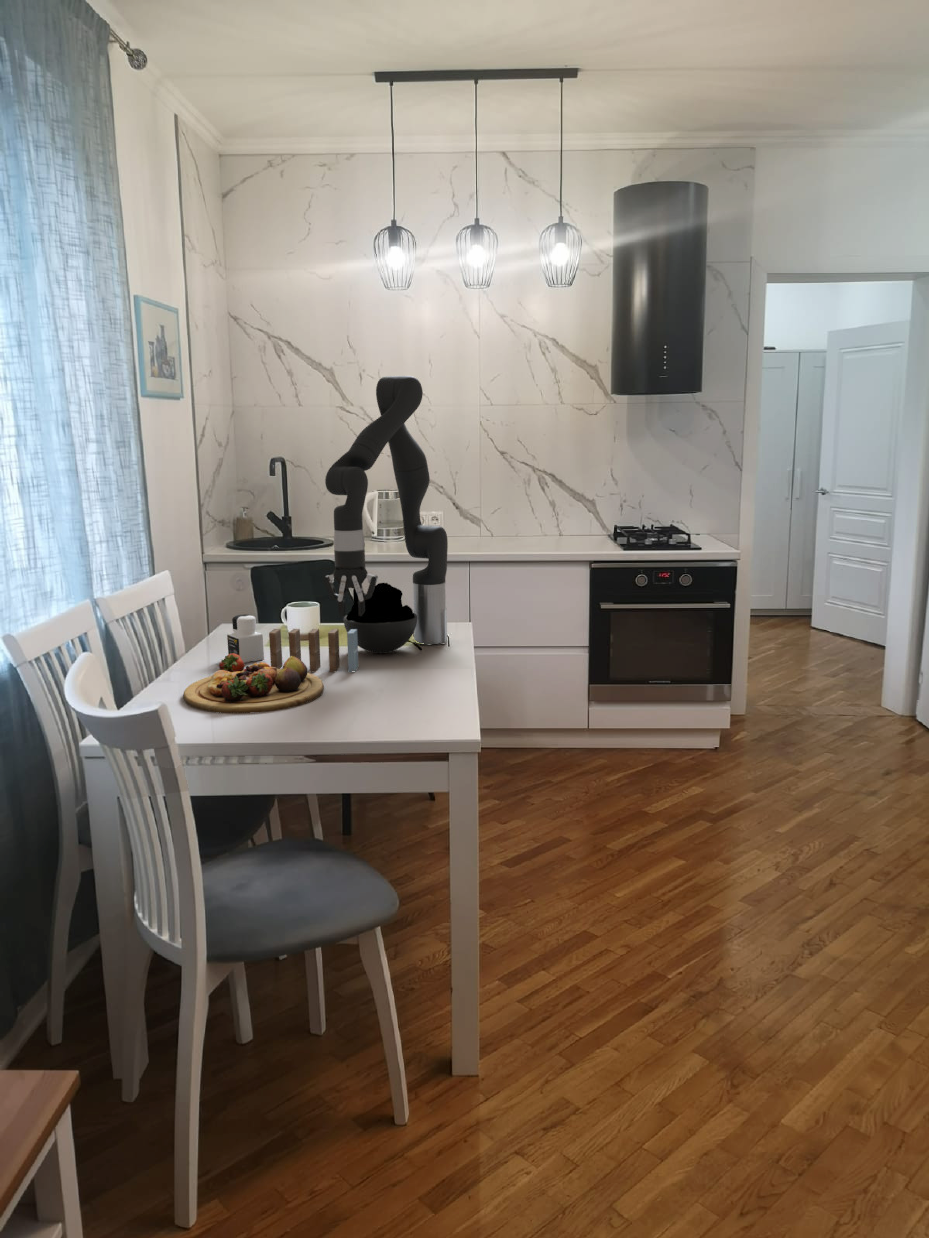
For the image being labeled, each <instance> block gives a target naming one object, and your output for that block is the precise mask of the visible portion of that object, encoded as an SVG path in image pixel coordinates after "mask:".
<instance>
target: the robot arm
mask: <svg viewBox="0 0 929 1238" xmlns="http://www.w3.org/2000/svg"><path fill="white" fill-rule="evenodd" d="M423 394H424V393H423V387H422V384H421V382H420V380H419V379H418V378H417V377H415V376H412V375H393V376H392V375H389V376H388V375H387V376H383V377H381V378H380V379H379V380H378V381H377V384H376V387H375V396H376V403H377V407H378V411H379V413H380V416H379V417H378V418H376V419H374V420H373V421H372V422H371V423H369V424H368V425H367V426H365V428H363V430H362V431H360V432H359V434H358V435H357V437H356V438H355V440H354V441H353V443H352V445H351V446H350V448H349V449H348V451H346V452H345V453H344V454H342V455H341V456H340V457H339V458H338V459H337V460H336V461H335V462H334V463H333V464H332V465H331V466H330V467H329V469H328V470H327V473H326V475H325V480H324V483H325V487H326V489H327V491H328V493H330V494H331V495H334V496H346V499H345V503H344V504H342V505H338V506H336V507H335V508H334V510H333V523H334V524H333V528H334V532H333V533H334V534H333V551H334V554H333V555H334V571H333V573H332V574H330V575H329V574H327V575H325V576H324V577H323V582H324V584H325V587H326V589H327V591H328V595H329V597H330V599H331V600H335V601H337V603H338V605H337V608H338V614H340V616H341V617H345V616H346V615H347V614H346V600H345V597H346V596H345V595H346V592H347V590H348V589H355V590H356V593H357V595H358V598H359V602H358V611H359V616H362V615H363V614H364V613H365V600H367V599H370V598H371V597H372V595H373V591H374V588H375V586H376V585H377V582H378V578H379V577H378V575H377V574H370V573H368V570H367V568H366V549H365V547H366V543H365V535H364V530H363V529H364V526H363V511H364V506H365V500H366V496H367V492H368V486H369V479H368V476H367V473H366V471H368V470H370V469H371V468H373V466H374V465H375V463H376V461H377V460H378V458H379V457H380V455H381V454H382V452H383V450H384V448H385V447H386V445H387V444H388V446H389V450H390V456H391V461H392V462H391V463H392V469H393V473H394V479H395V483H396V487H397V492H398V496H399V501H400V506H401V515H402V524H403V534H404V535H403V536H404V542H405V547H406V550H407V553H408V555H410V556H411V557H412V558H416V559H427V560H428V563H427V566H426V567H424V568H423V569H419V570H417V571H415V572H413V574H412V594H413V595H412V600H413V601H412V603H413V606H412V607H413V609H412V610H413V613H415V614H416V615H417V624H416V628H415V630H414V633H413V639H414V640H416V641H417V642H419V643H424V644H438V643H446V644H447V641H448V609H447V608H448V607H447V593H446V587H447V586H446V578H447V577H446V576H447V571H448V547H449V545H448V542H449V541H448V534H447V532H446V530H445V527H442V526H438V525H423V524H422V521H421V511H420V510H421V505H422V502H423V499H424V498H425V496H426V493H427V490H428V489H429V486H430V472H429V466H428V461H427V456H426V454H425V452H424V451H423V449H422V447H421V446H420V445H419V444H418V441H416V439H415V438H414V437H413V436H412V435H411V433H410V432H409V430H408V428H407V426H406V422H407V420H408V419H409V418H410V417H412V415H413V414H414V413H415V412H416V411H417V409H418V408H419V406H420V405H421V403H422V401H423V396H424V395H423ZM366 579H367V583H368V584H369V585H368V588H367V591H366V593H365V592H364V586H363V583H364V582H365V580H366ZM335 580H336V582H337V583H338V584H339V588H338V589H339V590H338V593H337V590H336V589H335V586H334V582H335ZM364 593H365V594H364ZM414 640H413V641H414ZM446 640H447V641H446ZM438 645H439V644H438Z"/></svg>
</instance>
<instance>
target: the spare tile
mask: <svg viewBox="0 0 929 1238" xmlns="http://www.w3.org/2000/svg"><path fill="white" fill-rule="evenodd" d="M346 637H347V640H346V641H347V665H348V670H347V671H348V673H353V672H352V671H355V672H356V671H357V670H358V669H359V648H358V647H359V646H358V640H357V629H351V630H350V631H349V632H348V633H347V632H346ZM357 668H358V669H357ZM356 669H357V670H356Z"/></svg>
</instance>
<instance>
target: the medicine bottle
mask: <svg viewBox="0 0 929 1238" xmlns="http://www.w3.org/2000/svg"><path fill="white" fill-rule="evenodd" d="M256 620H257V619H256V616H254V615H252V614H238V615H235V616H233V617H232V619H231V621H232V622H231V623H232V632H228V633H227V639H226V640H227V651H228V653H227V655H229V654H232V653H235V654H237V655H239V656H240V657H241V659H242V661H243V662H244V664H247V663H251V662H250V661H253V662H257V661H263V660H265V652H264V637H263V636H264V635H263V633H260V632H257V622H256ZM246 662H247V663H246Z"/></svg>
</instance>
